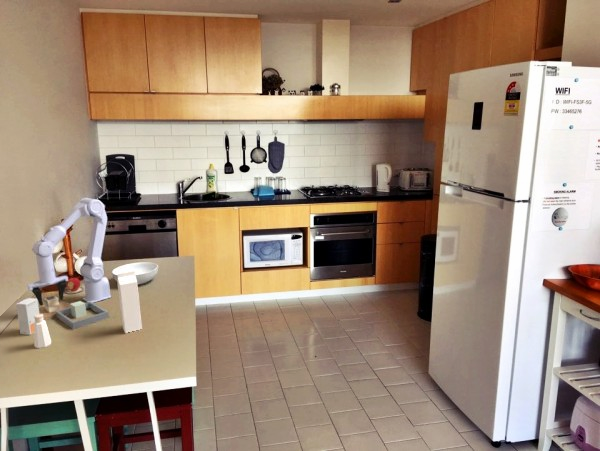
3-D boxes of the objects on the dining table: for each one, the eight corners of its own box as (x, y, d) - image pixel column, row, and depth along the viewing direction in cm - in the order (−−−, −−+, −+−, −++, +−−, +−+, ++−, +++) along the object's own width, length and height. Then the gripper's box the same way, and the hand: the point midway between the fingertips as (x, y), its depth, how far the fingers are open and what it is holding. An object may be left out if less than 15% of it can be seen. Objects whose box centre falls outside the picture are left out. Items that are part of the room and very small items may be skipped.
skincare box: (30, 335, 173) (25, 304, 170) (20, 334, 173) (15, 303, 171) (42, 328, 178) (37, 298, 176) (32, 327, 179) (27, 297, 177)
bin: (91, 307, 198) (90, 301, 197) (108, 317, 186) (108, 311, 186) (56, 317, 188) (55, 311, 187) (73, 329, 177) (72, 322, 176)
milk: (142, 330, 175) (136, 273, 170) (125, 333, 172) (118, 276, 167) (138, 324, 180) (133, 268, 175) (122, 327, 177) (116, 271, 172)
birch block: (55, 306, 195) (53, 295, 194) (59, 309, 192) (58, 297, 191) (45, 309, 193) (43, 297, 192) (49, 312, 190) (47, 300, 188)
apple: (85, 291, 216) (84, 278, 215) (66, 295, 212) (64, 281, 210) (82, 286, 223) (80, 273, 221) (63, 290, 218) (62, 277, 217)
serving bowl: (141, 272, 242) (140, 259, 240) (168, 279, 230) (167, 266, 228) (104, 284, 225) (102, 270, 224) (131, 292, 213) (129, 278, 212)
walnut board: (64, 303, 202) (64, 300, 202) (76, 310, 194) (75, 308, 194) (29, 313, 192) (28, 310, 192) (39, 321, 184) (38, 318, 184)
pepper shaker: (39, 341, 168) (35, 312, 165) (54, 341, 168) (50, 312, 165) (30, 348, 162) (26, 318, 160) (46, 348, 162) (41, 318, 160)
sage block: (81, 312, 192) (80, 300, 191) (86, 315, 189) (85, 303, 188) (71, 315, 190) (70, 303, 189) (76, 318, 187) (74, 306, 185)
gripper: (30, 276, 181) (35, 310, 184) (69, 267, 191) (73, 299, 194) (23, 273, 186) (29, 305, 189) (62, 264, 196) (66, 295, 199)
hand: (51, 302), depth 192 cm, fingers open, 7 cm apart
